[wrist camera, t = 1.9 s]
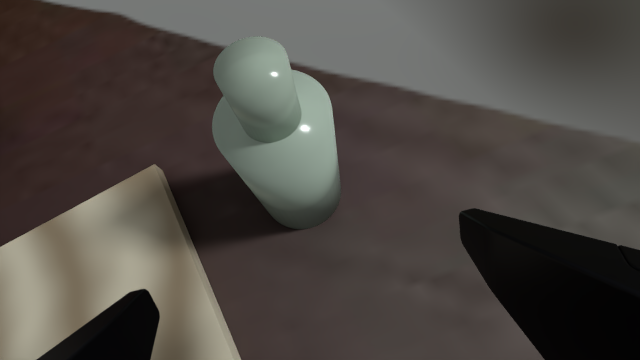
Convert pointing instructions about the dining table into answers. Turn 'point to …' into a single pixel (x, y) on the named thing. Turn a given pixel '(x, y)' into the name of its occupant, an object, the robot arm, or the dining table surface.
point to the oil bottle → (277, 132)
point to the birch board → (110, 275)
